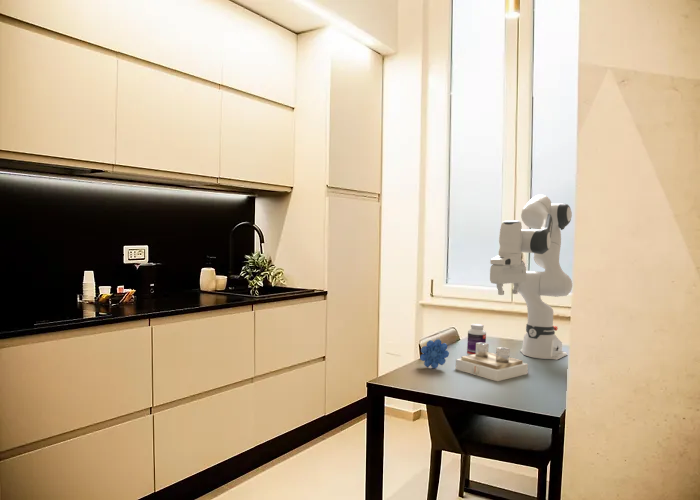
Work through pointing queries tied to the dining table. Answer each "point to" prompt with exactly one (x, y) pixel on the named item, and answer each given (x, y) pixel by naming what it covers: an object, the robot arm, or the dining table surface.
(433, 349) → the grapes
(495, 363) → the pan
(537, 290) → the robot arm
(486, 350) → the block
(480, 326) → the pill bottle
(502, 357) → the block
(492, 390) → the dining table surface
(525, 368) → the base
